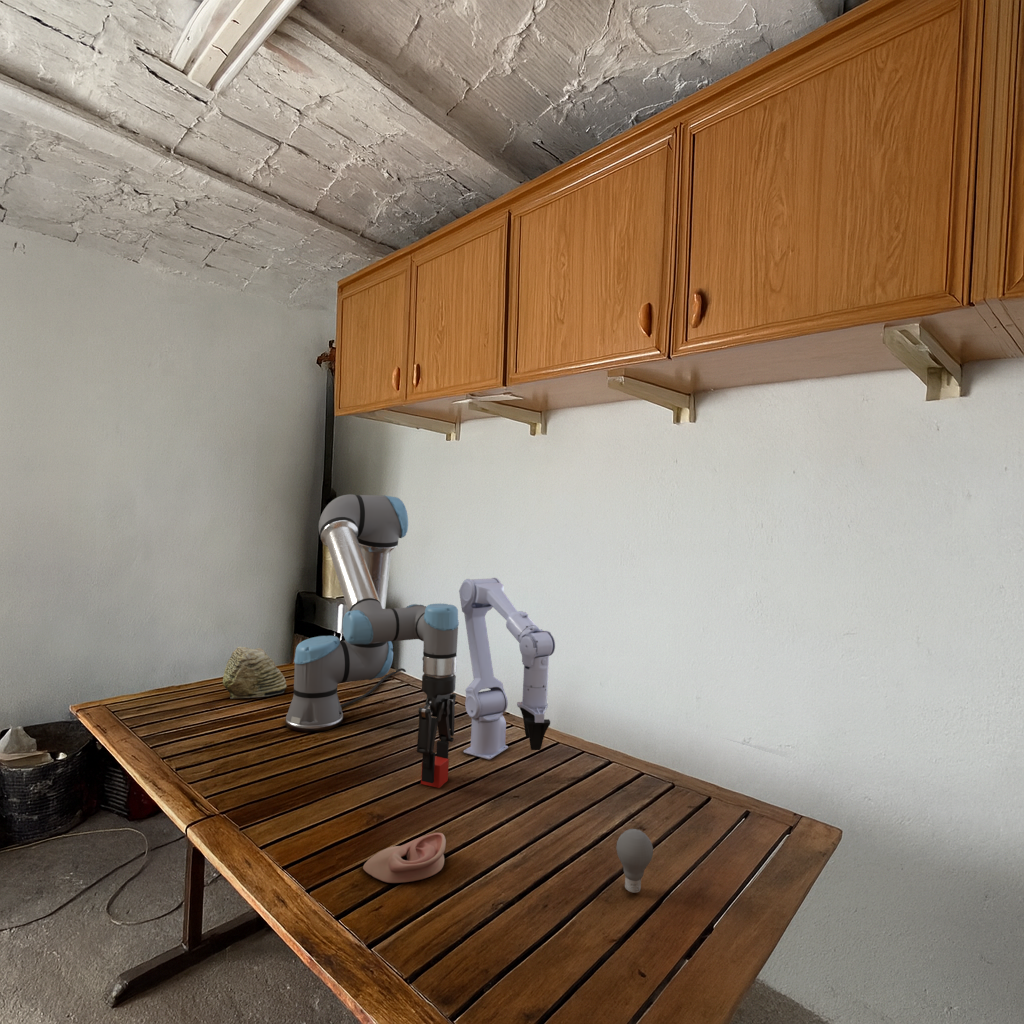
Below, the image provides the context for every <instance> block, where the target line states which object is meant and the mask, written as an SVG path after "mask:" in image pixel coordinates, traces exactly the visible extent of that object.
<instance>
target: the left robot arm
mask: <svg viewBox="0 0 1024 1024" xmlns="http://www.w3.org/2000/svg"><path fill="white" fill-rule="evenodd" d="M408 515H409V514H408V511H407V508H406V505H405V503H404V501H402V499H400V497H397V496H391V495H385V494H384V495H383V494H381V495H379V494H378V495H377V494H376V495H375V494H352V493H351V494H350V493H349V494H343V495H340V496H337V497H335V498H334V499H332V500H331V501H330V502H328V504H327V505H326V506H325V508H324V509H323V510H322V513H321V514H320V517H319V521H318V532H319V533H318V534H319V537H320V540H321V542H322V544H323V545H324V546H325V547H327V548H328V549H327V550H328V551H329V555H330V559H331V561H332V565H333V567H334V571H335V573H336V576H337V580H338V582H339V583H338V584H339V586H340V589H341V592H342V595H343V599H344V601H345V605H346V607H347V612H345V614H344V616H343V619H342V631H343V632H342V636H343V638H344V640H340V638H339V637H338V636H336V635H318V636H314V637H310V638H307V639H304V640H302V641H300V642H299V643H298V644H297V645H296V647H295V652H294V653H295V654H294V660H293V663H294V672H293V673H294V674H293V695H292V696H293V697H292V699H291V702H290V704H289V708H288V711H287V713H286V715H285V726H286V728H287V729H289V730H291V731H294V732H295V731H296V732H301V733H316V732H325V731H329V730H332V729H335V728H337V727H339V726H340V725H342V723H343V722H344V713H343V709H342V708H344V707H346V706H349V705H351V704H353V703H356V702H359V701H360V700H362V699H364V698H366V697H367V696H369V695H370V694H372V693H373V692H374V691H375V690H376V689H377V688H378V687H379V686H380V685H381V684H382V683H383V682H384V681H386V679H388V678H389V677H391V676H393V675H395V674H397V673H399V672H400V671H402V672H403V673H406V672H407V670H406V669H405V668H404V667H403V668H402V667H401V668H398V669H396V670H395V671H396V672H394V671H393V672H390V673H389V671H390V670H391V667H392V664H393V659H394V651H393V648H394V647H393V646H394V645H393V642H401V641H413V640H419V641H421V642H423V650H422V651H423V652H422V655H423V656H422V658H421V659H422V673H423V674H422V676H421V691H422V692H423V693H424V694H425V695H426V700H425V705H424V706H423V707H419V708H418V710H417V711H418V713H417V714H418V728H417V729H418V730H417V743H416V753H418V754H421V755H422V760H421V771H422V781H425V782H429V783H433V782H434V769H435V756H437V757H442V758H446V759H449V750H450V748H449V747H450V743H453V742H454V738H455V737H454V736H455V718H456V717H455V713H456V711H455V710H456V709H455V708H456V707H455V706H456V698H457V694H456V693H455V691H456V683H457V682H456V681H457V679H456V678H457V676H456V673H457V659H458V657H457V653H458V635H459V624H460V622H459V609H458V608H457V606H455V605H453V604H448V603H431V604H428V605H423V604H416V603H413V604H409V605H407V606H406V607H396V608H386V606H387V598H388V588H389V578H390V570H391V562H392V561H391V560H392V553H393V550H395V549H396V548H397V547H399V540H400V539H402V538H405V537H406V535H407V533H408V531H409V516H408ZM375 679H380V680H379V681H378V682H377V683H376V684H375V685H374V686H373V687H372V688H371V689H370V690H368V691H367V692H366V693H363V694H362V695H361V696H359V697H356V698H354V699H352V700H350V701H347V702H344V703H342V704H341V702H340V699H339V695H338V684H343V683H351V682H361V681H372V680H375ZM437 732H438V739H439V740H437V741H436V737H437ZM435 742H436V752H434V749H435Z"/></svg>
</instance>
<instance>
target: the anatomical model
mask: <svg viewBox="0 0 1024 1024" xmlns="http://www.w3.org/2000/svg"><path fill="white" fill-rule="evenodd" d="M446 845H447V841H446V835H444V834H443V833H442V832H433V833H429V834H426V835H422V836H420V837H418V838H415V839H413V840H411V841H409V842H406V843H404V844H402V845H395V846H390V847H386V848H384V849H382V850H380V851H378V852H377V853H375V854H374V855H372V856H371V857H370V858H368V859H367V860H366V862H364V864H363V867H362V869H363V871H365V873H367V874H368V875H370V876H371V877H373V878H374V879H376V880H379V881H381V882H384V883H388V884H399V883H400V884H401V883H409V882H410V883H411V882H416V881H420V880H424V879H427V878H429V877H432V876H435V875H436V874H438V873H439V872H440V871H442V869H443V868H444V865H445V855H444V853H445V850H446Z"/></svg>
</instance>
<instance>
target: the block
mask: <svg viewBox="0 0 1024 1024" xmlns="http://www.w3.org/2000/svg"><path fill="white" fill-rule="evenodd" d="M449 762H450V759H449V758H448V759H446V758H442V757H437V756H436V755H435V769H434V782H433V783H429V782H425V781H422V770H420V771H421V773H420V785H424V786H429V787H433V788H437V789H440V788H441V787H442V786H443V785H444V784H446V783H447V782H448V781H449V766H450V765H449V764H450V763H449Z"/></svg>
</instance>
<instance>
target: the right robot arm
mask: <svg viewBox="0 0 1024 1024" xmlns="http://www.w3.org/2000/svg"><path fill="white" fill-rule="evenodd" d="M462 581H463V582H462V583H461V585H460V588H459V590H458V593H459V599H460V607H461V612H462V613H463V614H464V621H465V629H466V636H467V643H468V649H469V657H470V663H471V669H472V670H471V671H472V677H473V680H472V681H471V682H470V683H469V684H468V685H467V687H466V688H465V702H464V708H465V712H466V713H467V715H468V717H469V718H471V725H470V728H471V729H470V746H469V747H467V748H466V749H464V750H463V753H464V754H467V755H471V756H475V757H478V758H481V759H484V760H492V759H493V758H495V757H497V756H498V755H500V754H501V753H503V752H504V751H506V750H507V749H509V746H508V745H506V736H507V722H506V718H505V716H504V715H503V714H504V713H505V712H506V711H507V709H508V705H509V700H508V696H507V693H506V691H505V688H504V684H503V682H502V681H501V680H499V679H498V678H496V677H495V675H494V668H493V661H492V654H491V649H490V648H491V647H490V641H489V636H488V628H487V622H486V616H487V613H488V612H489V611H491V610H492V609H494V610H495V611H496V612H497V613H498V614H499V615H500V616H501V617H502V618H503V619H504V620H505V621H506V622H505V627H506V630H508V632H509V633H510V634H511V635H512V637H513V638H514V639H515V640H516V641H517V642H518V645H519V647H518V648H519V651H520V654H521V663H522V665H523V676H522V677H523V678H522V679H523V680H522V700H521V701H517V703H516V706H517V708H519V709H520V712H521V716H522V721H523V728H524V733H525V738H528V739H529V746H530V750H531V751H541V749H542V746H543V741H544V738H545V735H546V732H547V731H548V728H549V727H550V726H551V720H550V719H547V718H545V713H546V712H547V710H548V708H549V703H548V691H549V690H548V689H549V669H550V667H549V665H550V656H552V655H553V654H554V653H555V649H556V641H555V638H554V636H553V635H552V633H551V632H550V631H549V630H543V628H541V629H540V628H539V626H538V625H537V624H536V623H535V622H534V620H532V619H531V618H530V617H529V614H528V613H527V612H526V611H523V610H517V608H516V607H515V606H514V604H513V603H512V602H511V600H510V599H509V598H508V596H507V595H506V594H505V587H504V584H503V583H502V582H501V581H500V579H499V578H497V577H490V578H466V579H464V580H462ZM486 689H488V690H486ZM482 690H483V691H482Z"/></svg>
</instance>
